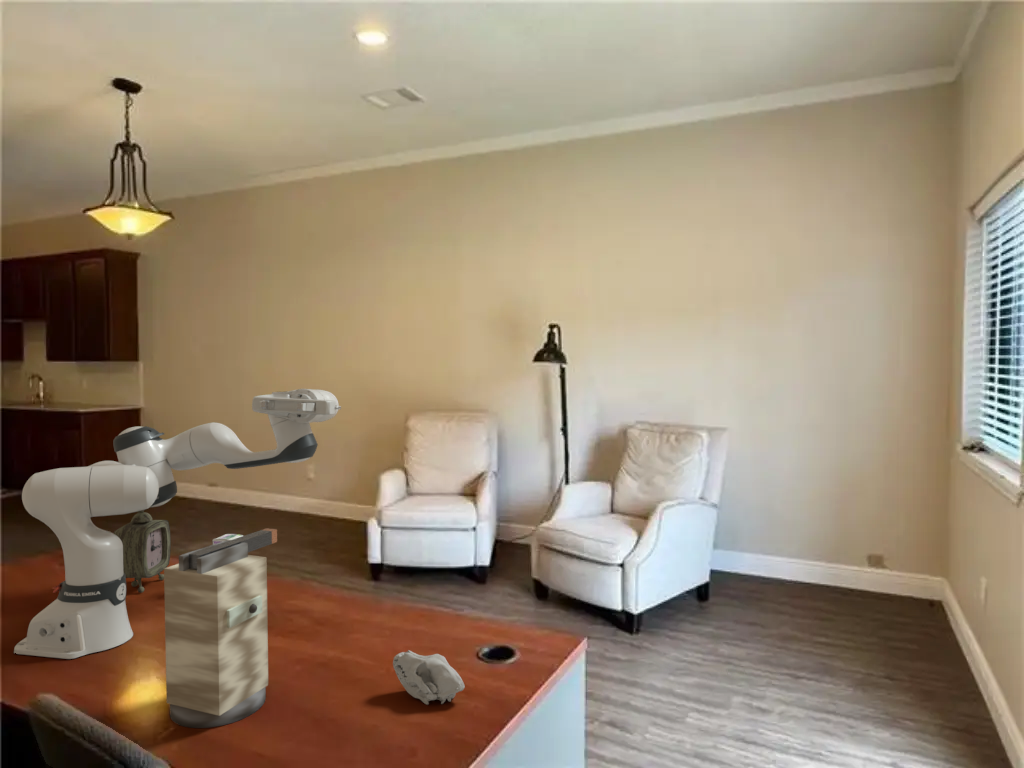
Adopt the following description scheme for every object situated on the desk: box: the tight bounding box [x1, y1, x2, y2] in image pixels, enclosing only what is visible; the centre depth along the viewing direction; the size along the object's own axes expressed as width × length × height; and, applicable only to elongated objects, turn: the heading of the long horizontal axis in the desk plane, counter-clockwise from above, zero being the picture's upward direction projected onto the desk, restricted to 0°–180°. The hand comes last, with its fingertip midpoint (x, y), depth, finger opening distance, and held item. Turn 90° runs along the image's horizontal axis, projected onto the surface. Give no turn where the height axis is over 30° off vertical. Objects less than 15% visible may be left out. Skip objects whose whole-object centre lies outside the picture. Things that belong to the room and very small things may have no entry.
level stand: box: [163, 540, 269, 729], centre depth 125 cm, size 16×16×29 cm
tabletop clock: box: [112, 509, 172, 594], centre depth 191 cm, size 14×9×25 cm, turn 179°
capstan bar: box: [189, 528, 278, 569], centre depth 129 cm, size 20×2×2 cm, turn 159°
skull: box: [392, 649, 466, 706], centre depth 129 cm, size 9×10×13 cm
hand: (280, 405), depth 165 cm, fingers open, 8 cm apart
